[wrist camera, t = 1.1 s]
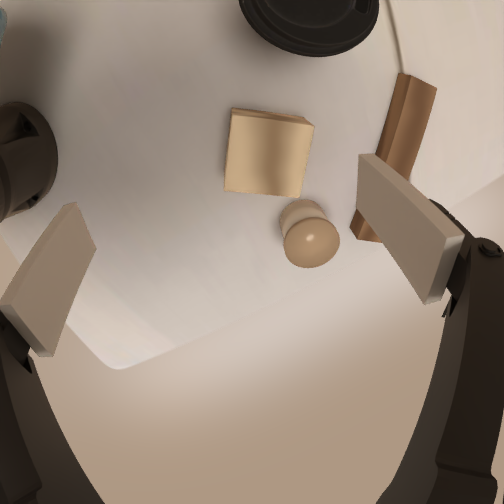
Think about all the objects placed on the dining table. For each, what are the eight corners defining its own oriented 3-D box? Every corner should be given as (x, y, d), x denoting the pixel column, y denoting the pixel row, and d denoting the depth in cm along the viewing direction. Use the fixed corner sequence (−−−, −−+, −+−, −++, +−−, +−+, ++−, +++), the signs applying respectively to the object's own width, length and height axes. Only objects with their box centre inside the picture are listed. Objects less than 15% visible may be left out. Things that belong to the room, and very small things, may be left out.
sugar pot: (272, 238, 40) (278, 265, 36) (283, 193, 37) (292, 216, 32) (318, 243, 42) (329, 270, 37) (332, 201, 38) (347, 224, 33)
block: (224, 173, 35) (223, 190, 31) (231, 107, 30) (232, 115, 26) (290, 180, 36) (299, 197, 32) (302, 117, 31) (314, 126, 27)
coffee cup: (335, 45, 26) (407, 43, 14) (254, 70, 28) (275, 75, 16) (303, -26, 21) (355, -74, 9) (220, -3, 22) (213, -50, 10)
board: (349, 227, 40) (357, 239, 38) (398, 73, 28) (411, 75, 25) (373, 231, 41) (381, 242, 38) (423, 84, 28) (437, 88, 26)
